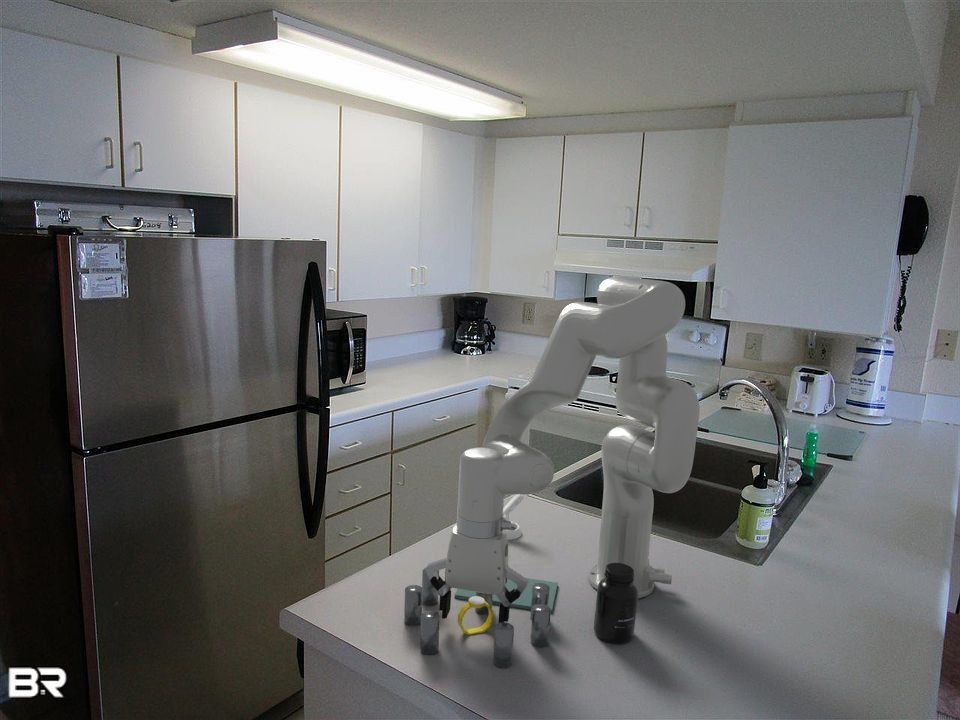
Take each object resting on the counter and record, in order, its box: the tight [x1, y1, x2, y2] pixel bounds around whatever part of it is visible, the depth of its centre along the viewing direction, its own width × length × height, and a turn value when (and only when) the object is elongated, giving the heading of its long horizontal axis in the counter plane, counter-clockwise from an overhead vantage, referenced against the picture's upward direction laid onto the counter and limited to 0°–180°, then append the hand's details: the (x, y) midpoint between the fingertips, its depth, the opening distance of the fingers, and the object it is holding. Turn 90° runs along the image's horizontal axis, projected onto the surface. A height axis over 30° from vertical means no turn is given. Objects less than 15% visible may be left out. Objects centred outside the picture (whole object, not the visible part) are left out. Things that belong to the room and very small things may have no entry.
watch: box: [457, 596, 494, 636], centre depth 115 cm, size 6×3×6 cm, turn 111°
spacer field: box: [403, 567, 552, 669], centre depth 115 cm, size 25×17×6 cm
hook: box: [503, 494, 525, 541], centre depth 153 cm, size 8×12×7 cm
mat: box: [454, 577, 559, 614], centre depth 129 cm, size 18×10×1 cm, turn 78°
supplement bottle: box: [593, 563, 639, 645], centre depth 116 cm, size 7×7×12 cm
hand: (473, 619), depth 115 cm, fingers open, 9 cm apart
